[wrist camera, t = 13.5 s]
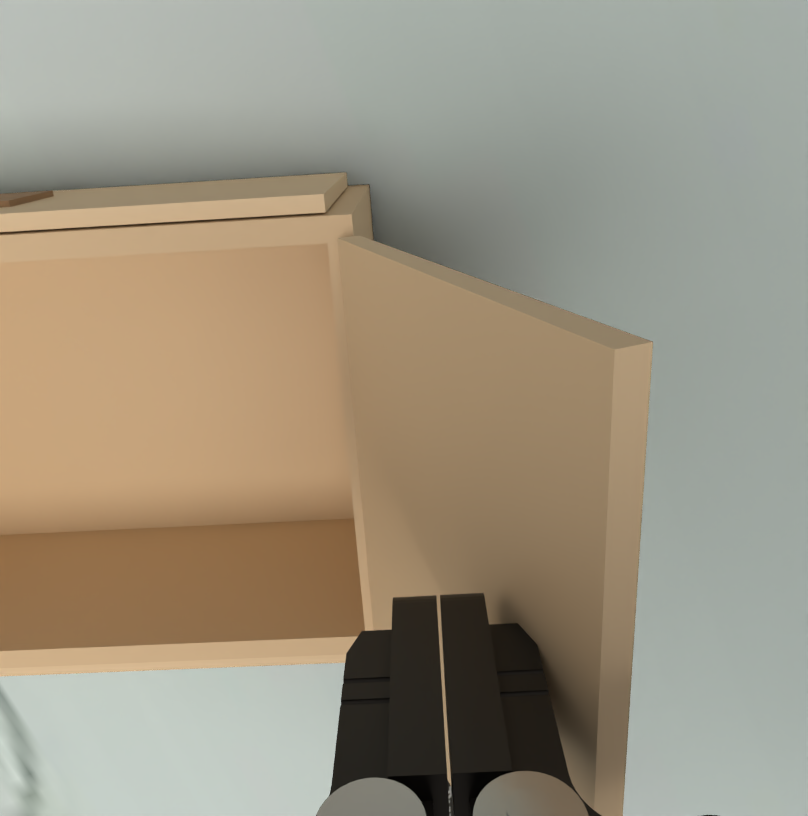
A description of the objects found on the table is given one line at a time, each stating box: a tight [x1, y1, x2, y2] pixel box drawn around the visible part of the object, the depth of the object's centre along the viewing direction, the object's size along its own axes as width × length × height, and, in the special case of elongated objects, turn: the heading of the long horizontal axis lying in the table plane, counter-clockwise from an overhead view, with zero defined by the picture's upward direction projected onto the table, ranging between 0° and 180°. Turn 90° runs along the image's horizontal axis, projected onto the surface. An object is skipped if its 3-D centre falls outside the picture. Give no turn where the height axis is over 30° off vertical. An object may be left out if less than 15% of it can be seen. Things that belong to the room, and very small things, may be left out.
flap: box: [338, 235, 653, 816], centre depth 14 cm, size 1×11×10 cm, turn 4°
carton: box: [0, 172, 374, 676], centre depth 22 cm, size 16×13×7 cm
